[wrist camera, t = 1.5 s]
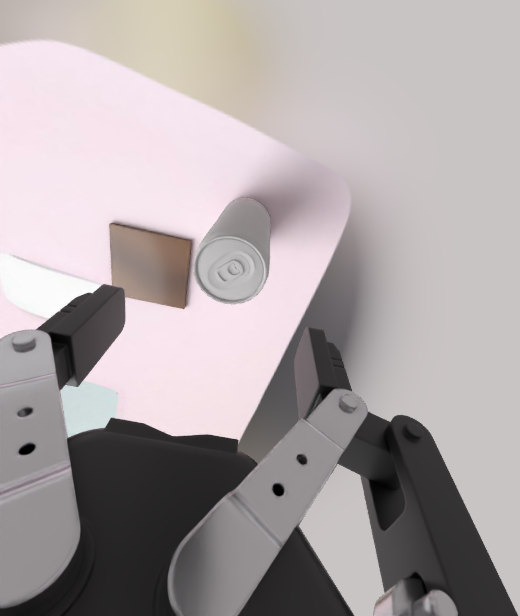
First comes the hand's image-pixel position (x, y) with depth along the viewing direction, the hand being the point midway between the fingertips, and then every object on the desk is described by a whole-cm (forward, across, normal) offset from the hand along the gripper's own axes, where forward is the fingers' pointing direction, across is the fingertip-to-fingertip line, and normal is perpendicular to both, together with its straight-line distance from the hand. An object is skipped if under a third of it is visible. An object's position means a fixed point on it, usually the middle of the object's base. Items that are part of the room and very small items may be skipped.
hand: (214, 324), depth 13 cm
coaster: (+18, +9, +7) cm, 21 cm away
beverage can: (+18, 0, 0) cm, 18 cm away
